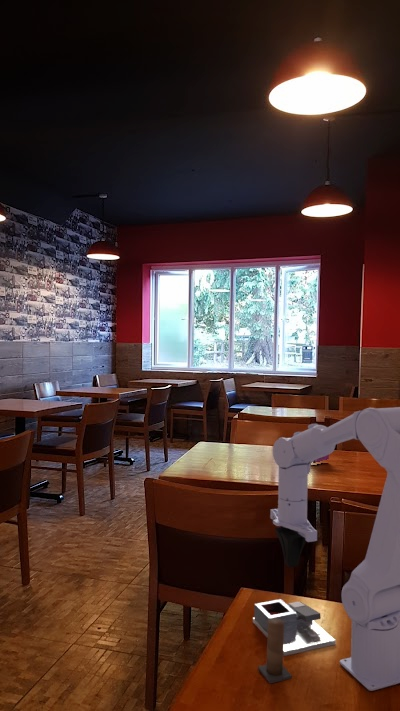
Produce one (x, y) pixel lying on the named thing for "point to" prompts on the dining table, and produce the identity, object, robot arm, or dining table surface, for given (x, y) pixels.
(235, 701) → the dining table surface
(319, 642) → the panel
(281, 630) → the dowel
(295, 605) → the block
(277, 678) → the pad
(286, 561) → the robot arm
